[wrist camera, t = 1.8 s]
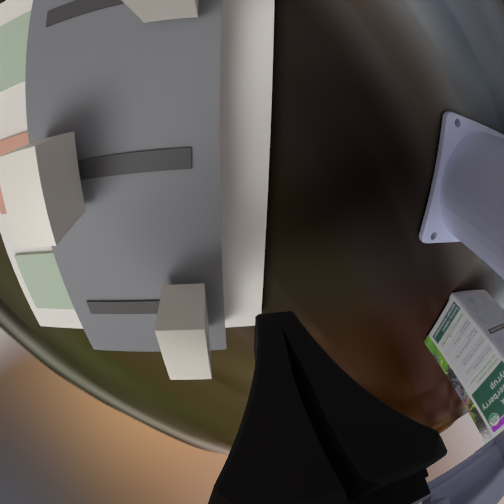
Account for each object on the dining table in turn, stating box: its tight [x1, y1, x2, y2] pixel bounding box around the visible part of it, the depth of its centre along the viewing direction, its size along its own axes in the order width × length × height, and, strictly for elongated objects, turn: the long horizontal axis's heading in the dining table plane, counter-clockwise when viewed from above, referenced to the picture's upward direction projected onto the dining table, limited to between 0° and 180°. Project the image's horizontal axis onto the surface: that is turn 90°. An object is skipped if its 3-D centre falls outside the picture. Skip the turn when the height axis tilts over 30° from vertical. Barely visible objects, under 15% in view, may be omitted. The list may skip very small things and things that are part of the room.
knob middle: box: [0, 131, 86, 249], centre depth 7 cm, size 2×3×2 cm, turn 0°
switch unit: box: [0, 0, 274, 351], centre depth 9 cm, size 14×19×3 cm
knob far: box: [155, 283, 212, 380], centre depth 10 cm, size 2×3×2 cm, turn 179°
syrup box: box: [425, 289, 504, 444], centre depth 14 cm, size 6×6×14 cm
